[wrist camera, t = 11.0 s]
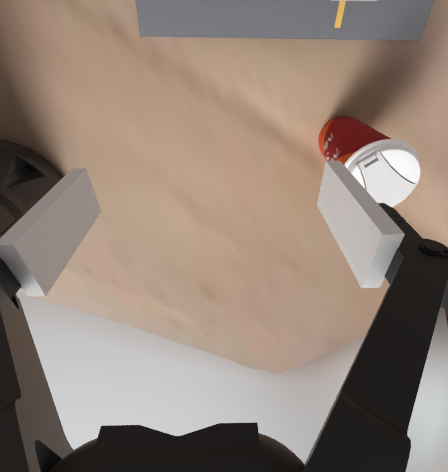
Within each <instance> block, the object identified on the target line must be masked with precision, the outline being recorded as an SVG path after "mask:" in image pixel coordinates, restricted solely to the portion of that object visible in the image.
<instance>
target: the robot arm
mask: <svg viewBox="0 0 448 472" xmlns="http://www.w3.org/2000/svg"><path fill="white" fill-rule="evenodd" d="M317 206H318V208H319V210H320V211H321V213H322V215H323V217H324V219H325V221H326V223H327V225H328V226H329V228H330V230H331V232H332V234H333V236H334V238H335V240H336V241H337V243H338V245H339V247H340V249H341V251H342V253H343V254H344V256H345V258H346V260H347V262H348V264H349V266H350V268H351V269H352V271H353V273H354V275H355V277H356V279H357V281H358V282H359V284H360V286H361V288H380V287H381V285H382V283H383V280H384V278H385V277H386V279H387V281H388V282H389V284H390V286H389V288H388V290H387V292H386V294H385V296H384V298H383V300H382V302H381V305H380V307H379V309H378V311H377V313H376V315H375V317H374V319H373V322H372V324H371V326H370V328H369V330H368V332H367V334H366V336H365V338H364V341H363V343H362V345H361V347H360V349H359V351H358V353H357V355H356V357H355V360H354V362H353V364H352V366H351V368H350V370H349V372H348V375H347V377H346V379H345V381H344V383H343V385H342V387H341V389H340V391H339V393H338V395H337V398H336V400H335V402H334V404H333V406H332V408H331V410H330V412H329V414H328V417H327V419H326V421H325V423H324V425H323V427H322V429H321V431H320V434H319V436H318V438H317V440H316V442H315V444H314V446H313V448H312V450H311V452H310V454H309V456H308V458H307V460H306V463H305V465H304V464H303V462H302V461H301V460H300V459H299V458H298V457H297V456H296V455H295V454H294V453H293V452H292V451H290V450H289V449H288V448H287V447H286V446H284V445H283V444H281V443H280V442H278V441H276V440H275V439H272V438H270V437H268V436H266V435H262V434H259V433H258V426H257V423H219V424H216V425H213V426H210V427H207V428H204V429H201V430H198V431H195V432H192V433H188V434H185V435H182V436H173V435H170V434H166V433H163V432H160V431H157V430H153V429H150V428H147V427H144V426H140V425H125V426H124V425H122V426H101V429H100V432H99V435H98V438H97V439H94V440H92V441H90V442H87V443H85V444H83V445H82V446H80V447H78V448H77V449H75V450H74V451H73V449H72V448H71V446H70V444H69V442H68V441H67V439H66V436H65V434H64V431H63V428H62V425H61V422H60V419H59V416H58V413H57V410H56V407H55V404H54V401H53V398H52V395H51V392H50V389H49V386H48V383H47V380H46V377H45V374H44V371H43V368H42V365H41V362H40V359H39V356H38V353H37V350H36V348H35V344H34V342H33V338H32V335H31V332H30V330H29V327H28V323H27V321H26V317H25V315H24V311H23V308H22V306H21V303H20V300H19V298H18V297H17V296H16V293H17V291H18V290H19V289H20V287H21V288H22V289H23V290H24V292H25V293H26V295H27V296H28V297H32V296H46V295H47V294H48V292H49V291H50V289H51V288H52V286H53V285H54V283H55V281H56V280H57V278H58V277H59V275H60V274H61V272H62V271H63V269H64V268H65V266H66V264H67V263H68V261H69V260H70V258H71V257H72V255H73V254H74V252H75V251H76V249H77V248H78V246H79V244H80V243H81V241H82V240H83V238H84V237H85V235H86V234H87V232H88V231H89V229H90V227H91V226H92V224H93V223H94V221H95V220H96V218H97V217H98V215H99V214H100V212H101V210H100V207H99V204H98V201H97V198H96V195H95V193H94V190H93V187H92V184H91V181H90V178H89V176H88V173H87V170H86V169H72V170H71V171H69V172H68V173H67V174H66V175H65V176H64V177H63V178H62V176H61V175H60V174H59V172H58V171H57V170H56V169H55V168H54V167H53V166H52V165H51V164H50V163H49V162H48V161H47V160H45V159H44V158H43V157H41V156H40V155H38V154H37V153H35V152H34V151H32V150H30V149H28V148H26V147H23V146H21V145H18V144H15V143H11V142H5V141H0V472H405V471H406V467H407V463H408V459H409V453H410V448H411V441H410V439H409V437H408V436H407V430H408V426H409V422H410V418H411V414H412V411H413V406H414V403H415V399H416V395H417V392H418V388H419V384H420V380H421V377H422V373H423V369H424V365H425V362H426V358H427V354H428V350H429V347H430V343H431V339H432V335H433V331H434V328H435V324H436V320H437V316H438V313H439V309H440V307H443V308H445V313H446V319H447V324H448V247H446V246H445V245H443V244H441V243H439V242H437V241H434V240H430V239H423V238H422V237H421V236H420V235H419V234H418V233H417V232H416V231H415V230H414V229H413V228H412V227H411V226H410V225H409V224H408V223H407V222H406V221H405V219H404V218H403V217H401V215H400V214H399V213H398V212H397V211H396V210H395V209H394V208H392V207H390V206H389V205H387V204H385V203H377V202H376V201H375V200H374V199H373V198H372V196H371V195H370V194H369V193H368V192H367V191H366V190H365V188H364V187H363V186H362V185H361V184H360V183H359V182H358V180H357V179H356V178H355V177H354V176H353V175H352V174H351V173H350V171H349V170H348V169H347V168H346V167H345V166H344V165H343V163H342V162H341V161H326V163H325V168H324V173H323V178H322V183H321V188H320V193H319V198H318V202H317Z"/></svg>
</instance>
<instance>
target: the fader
mask: <svg viewBox="0 0 448 472" xmlns="http://www.w3.org/2000/svg"><path fill="white" fill-rule="evenodd" d="M330 1H377V0H330Z"/></svg>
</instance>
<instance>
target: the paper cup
mask: <svg viewBox="0 0 448 472" xmlns="http://www.w3.org/2000/svg"><path fill="white" fill-rule="evenodd" d="M318 143H319V147H320V150H321V152H322V155H323V157H324V159H325V161H341V162H342V163H343V165H344V166H345V167H346V168H347V169H348V170H349V171H350V173H351V174H352V175H353V176H354V177H355V178H356V179H357V180H358V182H359V183H360V184H361V185H362V186H363V187H364V188H365V190H366V191H367V192H368V193H369V194H370V195H371V196H372V198H373V199H374V200H375V201H376V202H377V203H385V204H387V205H389V206H390V207H393V206H395V205H397V204H399V203H400V202H401V201H403V200H404V199H405V198H406V197H407V196H408V195H409V194H410V193H411V192H412V190H413V189H414V188H415V186H416V184H417V183H418V180H419V177H420V165H419V159H418V155H417V153H416V151H415V150H414V149H413V148H412V146H410V145H409V144H407V143H406V142H403V141H401V140H396V139H391V138H389V137H387V136H385V135H384V134H382V133H380V132H378V131H376V130H375V129H373V128H371V127H369V126H367V125H365V124H364V123H362V122H360V121H358V120H356V119H354V118H351V117H348V116H340V117H336V118H334V119H332V120H330V121H329V122H328V123H327V124H326V125H325V126H324V127H323V128H322V130H321V132H320V135H319V139H318Z"/></svg>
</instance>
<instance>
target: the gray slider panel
mask: <svg viewBox="0 0 448 472" xmlns="http://www.w3.org/2000/svg"><path fill="white" fill-rule="evenodd" d="M433 1H434V0H377V1H330V0H136V8H137V15H138V22H139V29H140V36H146V37H210V38H275V39H339V40H403V41H419V40H420V37H421V34H422V31H423V29H424V26H425V23H426V20H427V17H428V15H429V12H430V9H431V6H432V4H433Z"/></svg>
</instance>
